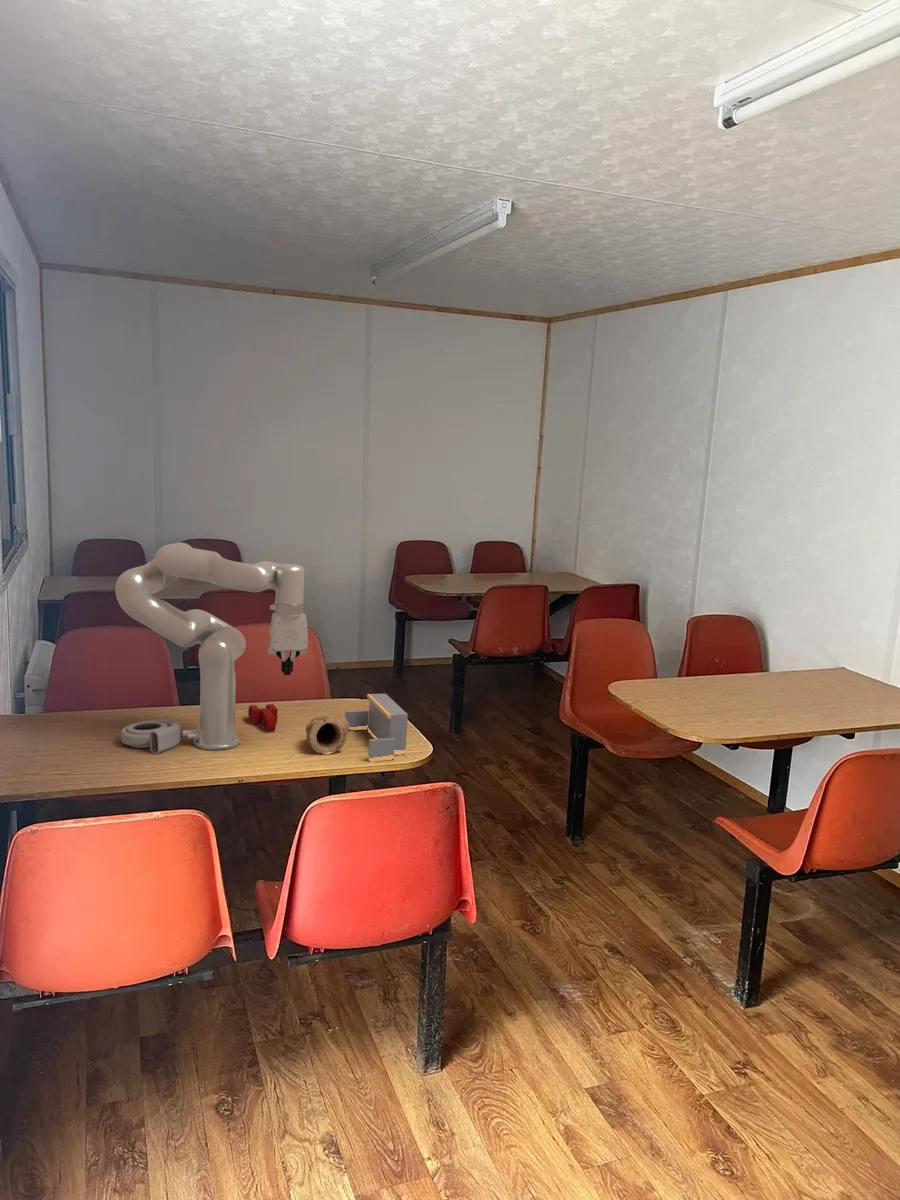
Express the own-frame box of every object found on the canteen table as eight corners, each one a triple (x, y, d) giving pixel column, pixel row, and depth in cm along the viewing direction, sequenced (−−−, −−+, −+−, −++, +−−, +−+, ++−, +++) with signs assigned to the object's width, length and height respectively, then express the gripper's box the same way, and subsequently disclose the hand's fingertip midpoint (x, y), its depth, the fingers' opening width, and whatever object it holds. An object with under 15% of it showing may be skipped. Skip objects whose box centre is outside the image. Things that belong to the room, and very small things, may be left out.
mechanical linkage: (248, 719, 271) (248, 703, 270) (271, 717, 274) (271, 702, 273) (259, 734, 257) (259, 718, 256) (283, 732, 260) (283, 716, 259)
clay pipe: (290, 760, 247) (323, 758, 237) (283, 723, 247) (316, 719, 237) (340, 745, 261) (374, 742, 251) (334, 710, 261) (367, 706, 251)
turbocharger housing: (151, 735, 253) (110, 748, 240) (150, 713, 252) (109, 725, 239) (195, 742, 246) (155, 756, 232) (194, 720, 245) (154, 733, 232)
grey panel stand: (369, 761, 239) (371, 719, 237) (344, 729, 266) (345, 691, 264) (409, 759, 243) (411, 718, 241) (380, 727, 270) (382, 690, 268)
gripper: (263, 611, 232) (261, 678, 235) (318, 611, 238) (316, 676, 241) (259, 606, 239) (257, 671, 242) (313, 606, 245) (310, 670, 248)
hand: (286, 674), depth 241 cm, fingers closed
